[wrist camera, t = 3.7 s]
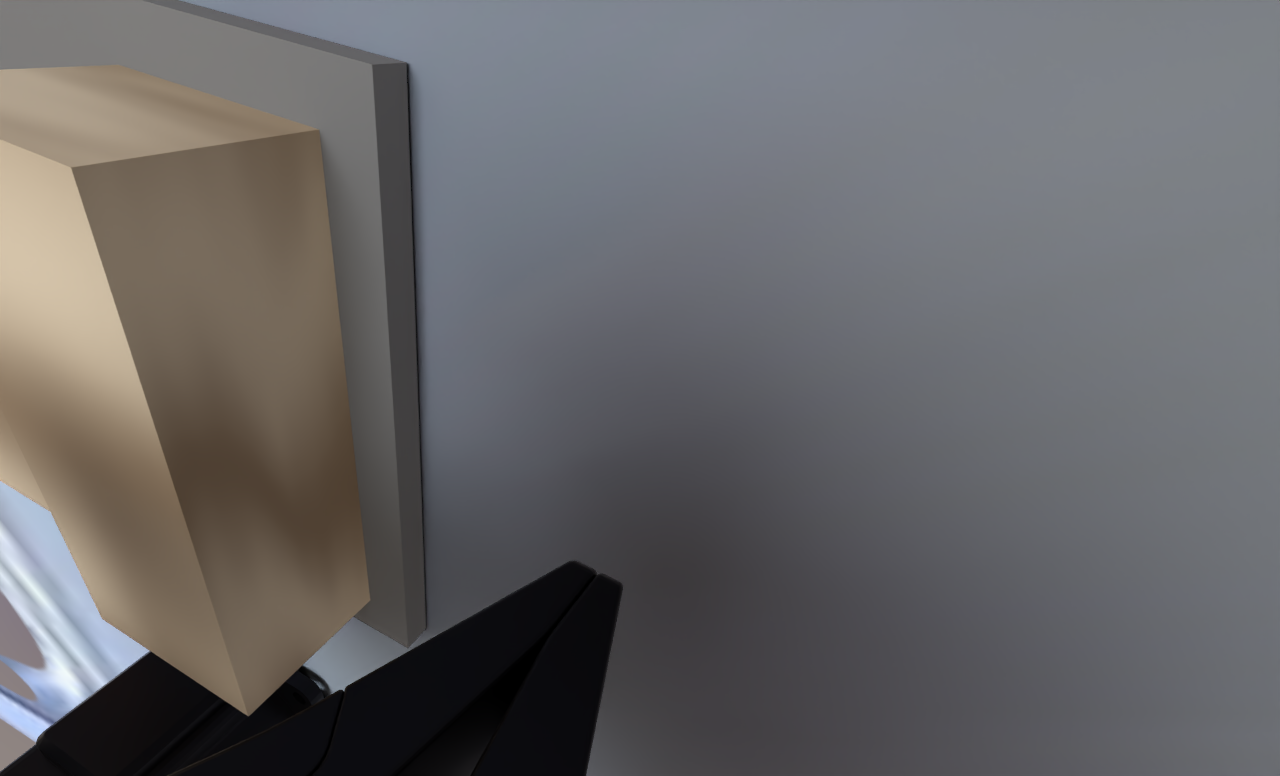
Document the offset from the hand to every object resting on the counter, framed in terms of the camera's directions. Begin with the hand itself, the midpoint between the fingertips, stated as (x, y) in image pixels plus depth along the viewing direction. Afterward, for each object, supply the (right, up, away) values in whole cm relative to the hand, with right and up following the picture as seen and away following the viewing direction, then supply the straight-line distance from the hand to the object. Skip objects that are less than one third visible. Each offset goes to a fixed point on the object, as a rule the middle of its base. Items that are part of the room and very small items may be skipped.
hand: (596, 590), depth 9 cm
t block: (-10, +4, +4) cm, 11 cm away
